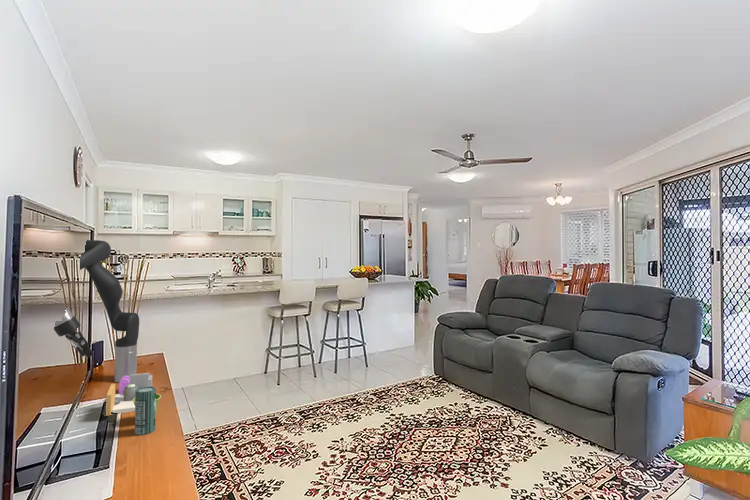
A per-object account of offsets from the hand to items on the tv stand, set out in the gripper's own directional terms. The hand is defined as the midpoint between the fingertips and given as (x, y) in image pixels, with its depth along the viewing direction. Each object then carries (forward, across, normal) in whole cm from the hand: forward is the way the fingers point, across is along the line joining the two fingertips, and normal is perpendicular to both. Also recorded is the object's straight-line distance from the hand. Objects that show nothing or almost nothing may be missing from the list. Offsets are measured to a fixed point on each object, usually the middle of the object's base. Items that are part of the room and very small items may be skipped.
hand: (88, 355), depth 156 cm
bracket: (+29, +20, -10) cm, 37 cm away
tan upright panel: (+23, 0, +4) cm, 23 cm away
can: (+29, -26, +4) cm, 40 cm away
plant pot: (+30, -17, 0) cm, 35 cm away
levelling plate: (+28, +6, -3) cm, 28 cm away
